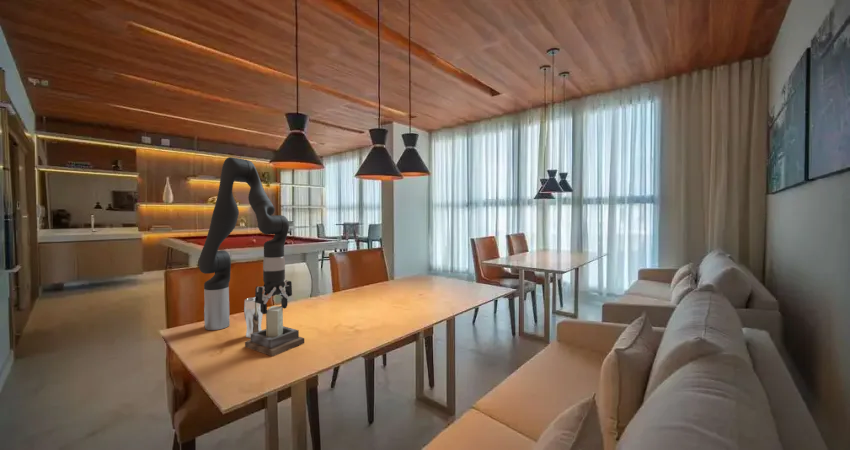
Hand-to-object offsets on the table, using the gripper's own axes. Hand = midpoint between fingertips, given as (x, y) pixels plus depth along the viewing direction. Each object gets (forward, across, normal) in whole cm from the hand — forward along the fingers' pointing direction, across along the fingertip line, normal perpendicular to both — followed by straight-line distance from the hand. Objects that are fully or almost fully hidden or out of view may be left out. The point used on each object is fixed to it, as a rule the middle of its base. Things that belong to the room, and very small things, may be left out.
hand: (274, 310), depth 132 cm
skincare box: (+11, 0, 0) cm, 11 cm away
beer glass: (+14, -2, -16) cm, 21 cm away
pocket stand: (+13, 0, 0) cm, 13 cm away
